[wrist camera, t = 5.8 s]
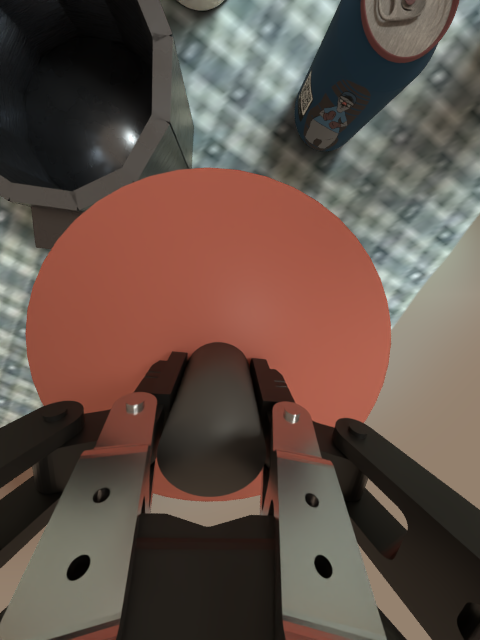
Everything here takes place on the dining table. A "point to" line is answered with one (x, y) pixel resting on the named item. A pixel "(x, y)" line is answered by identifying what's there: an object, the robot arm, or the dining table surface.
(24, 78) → the pot
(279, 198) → the lid
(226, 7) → the dining table surface
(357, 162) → the dining table surface
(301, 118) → the soda can
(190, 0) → the pill bottle
